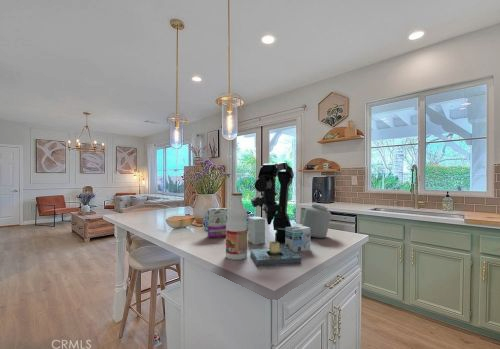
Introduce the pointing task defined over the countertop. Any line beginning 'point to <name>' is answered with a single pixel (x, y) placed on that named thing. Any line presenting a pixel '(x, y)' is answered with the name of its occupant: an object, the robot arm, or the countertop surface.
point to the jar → (317, 220)
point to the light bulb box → (297, 238)
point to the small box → (256, 230)
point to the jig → (275, 257)
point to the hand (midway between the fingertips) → (269, 224)
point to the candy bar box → (217, 222)
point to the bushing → (274, 248)
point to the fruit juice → (236, 229)
